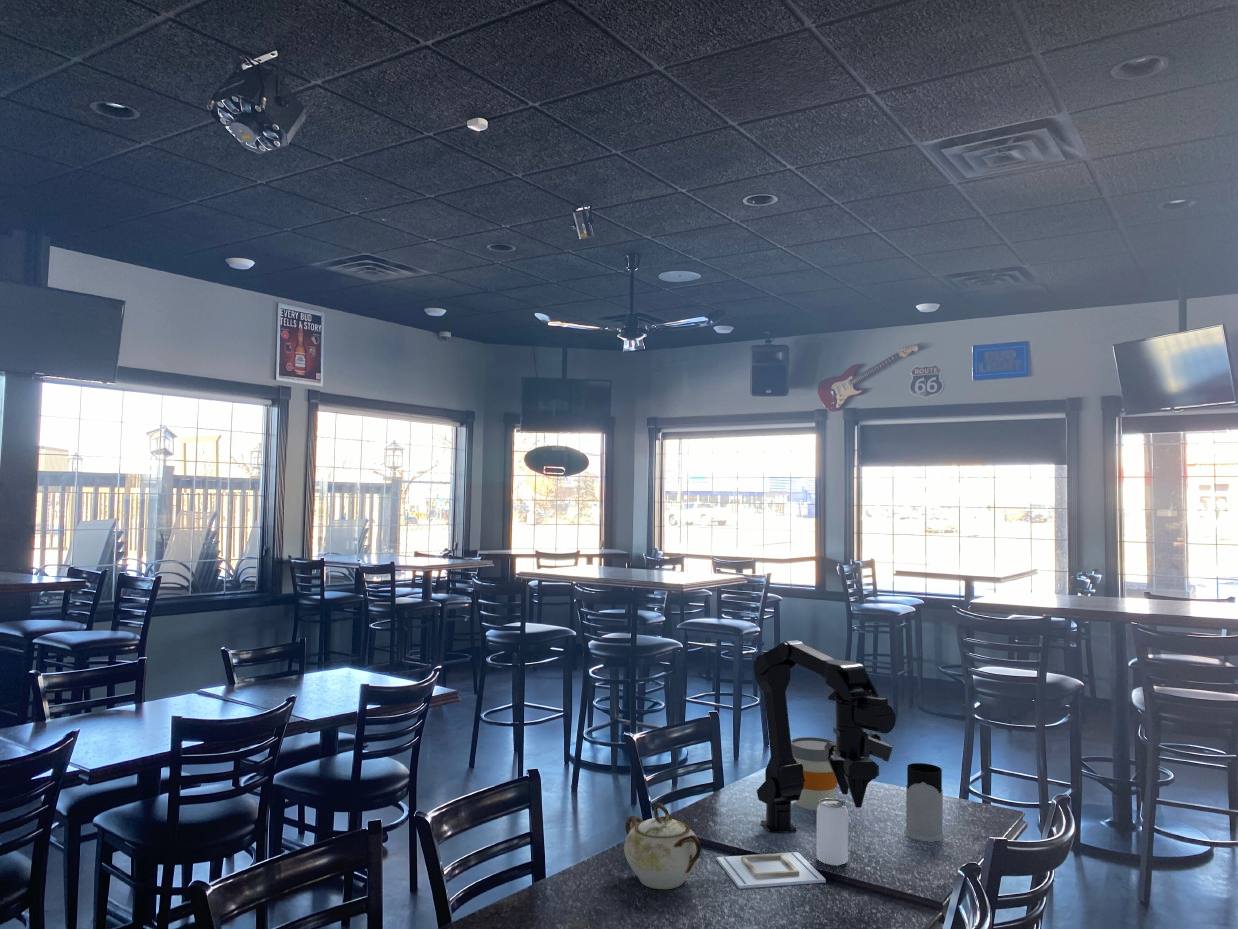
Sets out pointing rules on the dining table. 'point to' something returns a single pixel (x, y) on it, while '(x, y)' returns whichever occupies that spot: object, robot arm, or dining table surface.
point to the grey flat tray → (748, 880)
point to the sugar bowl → (661, 850)
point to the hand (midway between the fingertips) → (851, 800)
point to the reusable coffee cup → (814, 771)
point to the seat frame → (781, 857)
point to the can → (832, 832)
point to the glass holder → (924, 802)
